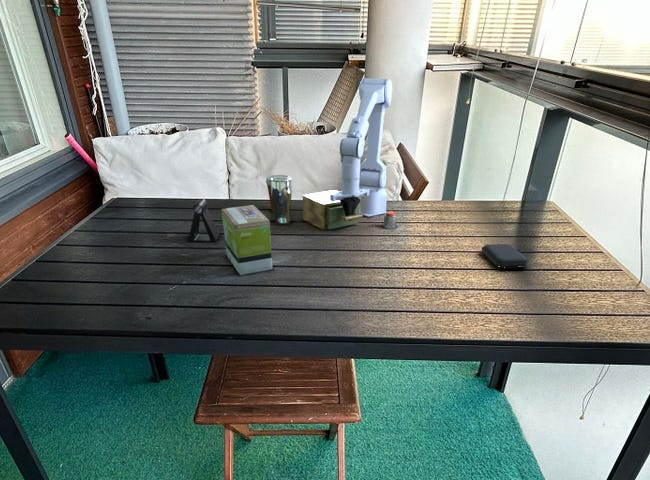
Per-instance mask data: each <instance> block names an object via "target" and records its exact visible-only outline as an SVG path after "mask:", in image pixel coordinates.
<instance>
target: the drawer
mask: <svg viewBox="0 0 650 480" xmlns="http://www.w3.org/2000/svg"><path fill="white" fill-rule="evenodd" d="M360 203H361V202H360ZM360 203H359V204H358V206H357V208H356V210H355V213H354V215H352V216H347V217H345V213H344V209H343V206H342V204H337V205H331V206H326V207H325V225H326V226H328V229H327V230H333V229H338V228H343V227H347V226H352V225H358V224H360V219H362V218H363V217H364V215H362V214H360V213H359V212H360ZM349 220H351V221H349Z"/></svg>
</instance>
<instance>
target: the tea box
mask: <svg viewBox="0 0 650 480" xmlns="http://www.w3.org/2000/svg"><path fill="white" fill-rule="evenodd" d="M221 219H222V226H223V233H224V234H223V235H224V242H225V251H226V256H227V258H228V259H229V261H230V263H231V264H232V265H233V267H234V269H236V271H237V273H238V274H239V275H240V276H243V275H249V274H255V273H261V272H267V271H271V270H273V256H272V239H271V224H270V219H268V218H267V216H266V215H265V214H264V213H262V211H260V210H259V209H258V208H257V207H256V206H255V205H254V204H249V205H242V206H241V205H240V206H235V207H227V208H221Z"/></svg>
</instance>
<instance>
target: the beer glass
mask: <svg viewBox="0 0 650 480" xmlns="http://www.w3.org/2000/svg"><path fill="white" fill-rule="evenodd" d="M292 191H293V190H292V178H291V176H289V177H285V176H278V177H273V178H272V182H271V192H272V200H273V204H274V209H275V212H274V219H273V223H274V224H276V225H279V226H282V225H283V226H284V225H290V224H291V223H292V218H291V204H292V195H293V194H292Z"/></svg>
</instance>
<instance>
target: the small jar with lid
mask: <svg viewBox="0 0 650 480" xmlns="http://www.w3.org/2000/svg"><path fill="white" fill-rule="evenodd" d="M397 217H398V216H397V213H396V212H395V211H393V210H389V211H387V212H386V213H384V215H383V228H385V229H387V230H388V229H389V230H392V229H395V228H396V227H397Z"/></svg>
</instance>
